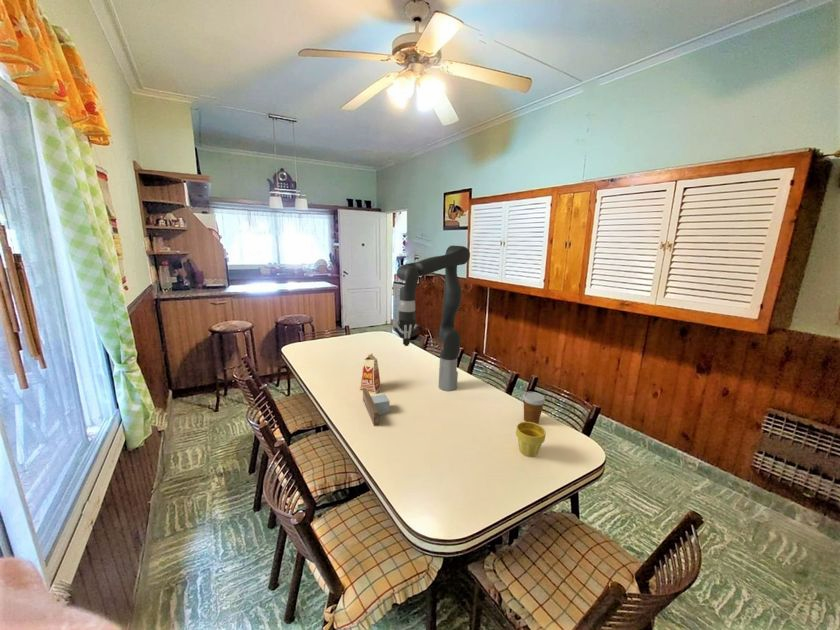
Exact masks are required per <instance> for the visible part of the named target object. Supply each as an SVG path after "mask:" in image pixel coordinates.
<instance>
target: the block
mask: <svg viewBox="0 0 840 630" xmlns="http://www.w3.org/2000/svg"><path fill="white" fill-rule="evenodd" d="M370 396H371V395H370ZM371 398H372V400H373V402H374V404H375V406H376V408H377V410H378V416H379V415H385V414H390V400H389V398H388V396H387V394H385V393H384V394H378V395H372V396H371Z"/></svg>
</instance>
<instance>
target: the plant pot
mask: <svg viewBox="0 0 840 630" xmlns="http://www.w3.org/2000/svg"><path fill="white" fill-rule="evenodd" d="M546 434H547V431H546V429H545V428H544V427H543V426H542V425H540V424H539V423H538V424H536V423H532V422H525V421H522V422H519V423H517V425H516V429H515V435H516V437H517V440H518V449H519V452H520V454H522V455H523V456H525V457H528V458H534V457H537V456H538V454H539V451H540V449H541V446H542V444H544V442H545V440H546Z"/></svg>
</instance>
